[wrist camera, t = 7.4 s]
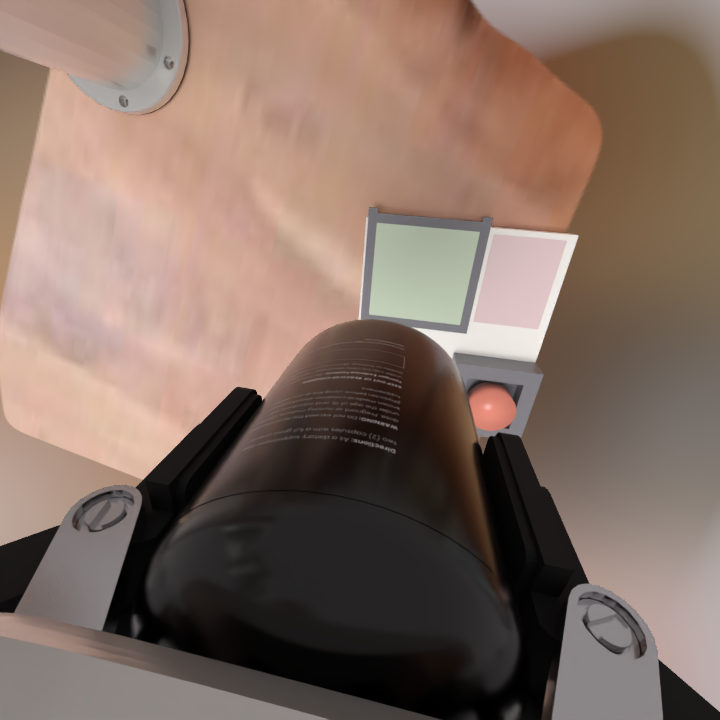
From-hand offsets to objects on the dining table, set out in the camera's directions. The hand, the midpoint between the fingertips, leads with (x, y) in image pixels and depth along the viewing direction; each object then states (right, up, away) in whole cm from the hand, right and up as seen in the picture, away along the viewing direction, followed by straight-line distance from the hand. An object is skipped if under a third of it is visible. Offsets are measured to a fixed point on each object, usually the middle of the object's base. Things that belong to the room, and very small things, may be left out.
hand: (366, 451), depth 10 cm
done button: (+13, -1, +24) cm, 27 cm away
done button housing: (+13, -1, +26) cm, 29 cm away
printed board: (+9, +6, +25) cm, 27 cm away
